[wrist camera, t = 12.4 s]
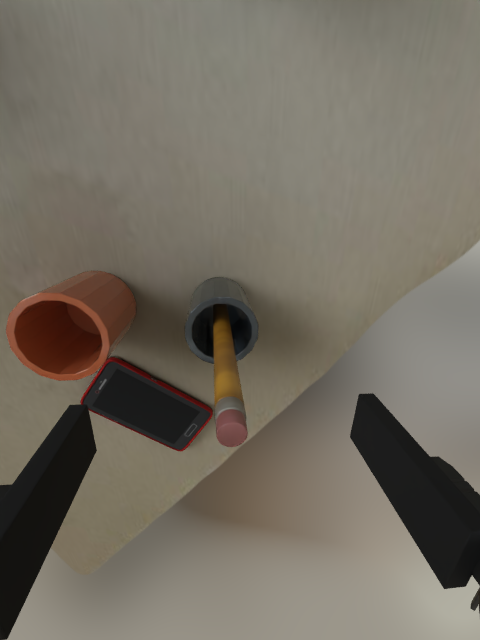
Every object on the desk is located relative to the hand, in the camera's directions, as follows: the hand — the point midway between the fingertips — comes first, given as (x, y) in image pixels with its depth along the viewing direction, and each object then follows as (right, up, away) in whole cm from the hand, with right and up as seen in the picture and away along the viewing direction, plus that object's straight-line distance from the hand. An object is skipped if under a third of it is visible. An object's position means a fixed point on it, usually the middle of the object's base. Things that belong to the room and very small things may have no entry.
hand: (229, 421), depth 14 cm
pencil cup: (-15, +7, +17) cm, 23 cm away
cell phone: (-11, -6, +22) cm, 25 cm away
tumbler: (-2, +7, +18) cm, 20 cm away
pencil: (-2, +6, +18) cm, 19 cm away
